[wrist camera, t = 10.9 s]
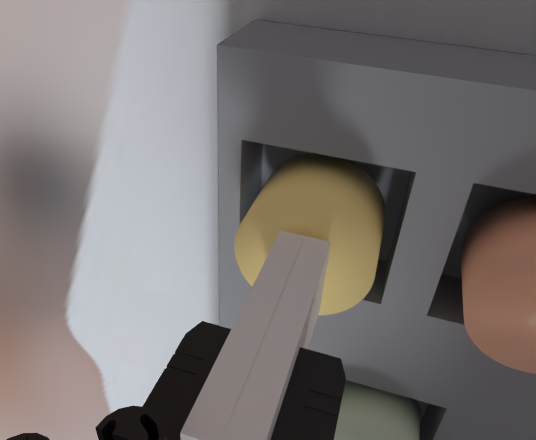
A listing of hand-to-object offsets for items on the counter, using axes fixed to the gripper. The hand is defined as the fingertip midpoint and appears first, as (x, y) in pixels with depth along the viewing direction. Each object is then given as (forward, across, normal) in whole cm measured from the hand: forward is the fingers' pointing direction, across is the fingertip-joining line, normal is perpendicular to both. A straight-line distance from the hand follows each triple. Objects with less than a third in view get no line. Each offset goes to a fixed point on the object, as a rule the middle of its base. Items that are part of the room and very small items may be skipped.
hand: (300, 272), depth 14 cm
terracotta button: (+4, -7, 0) cm, 8 cm away
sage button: (+4, -3, +10) cm, 11 cm away
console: (+6, -3, +5) cm, 8 cm away
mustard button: (+4, 0, 0) cm, 4 cm away
